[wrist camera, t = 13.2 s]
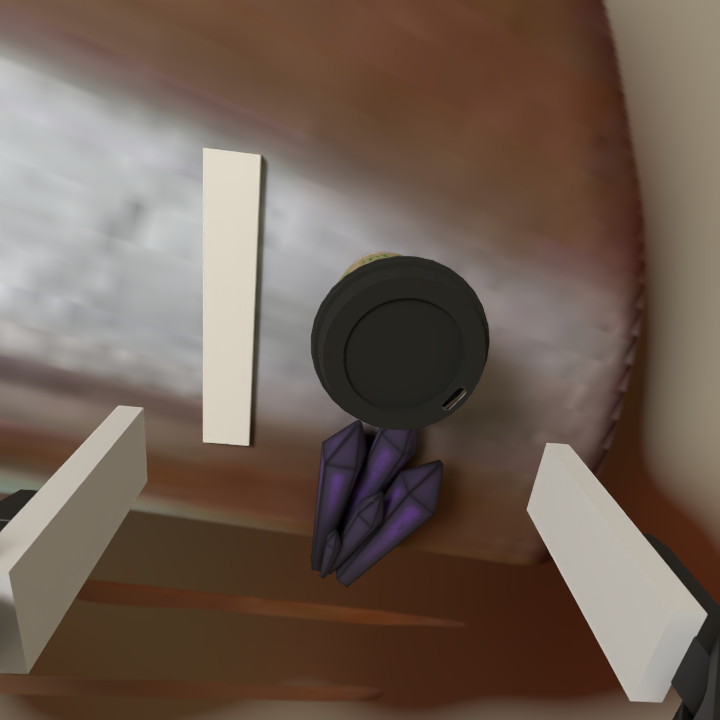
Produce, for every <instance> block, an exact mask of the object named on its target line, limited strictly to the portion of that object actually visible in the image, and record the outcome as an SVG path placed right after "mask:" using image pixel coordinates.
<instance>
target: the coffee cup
mask: <svg viewBox="0 0 720 720" xmlns="http://www.w3.org/2000/svg"><path fill="white" fill-rule="evenodd" d="M488 349H489V328H488V323H487V319H486V316H485V312H484V309H483V306H482V304H481V302H480V300H479V299H478V297H477V295H476V293H475V291H474V290H473V289H472V288H471V287H470V286H469V284H468V283H467V282H466V281H465V280H464V279H463V278H462V277H461V276H459V275H458V274H457V273H455V272H454V271H453V270H451V269H450V268H448V267H446V266H444V265H442V264H440V263H437V262H435V261H433V260H429V259H424V258H420V257H416V256H403V255H399V254H394V253H387V252H375V253H370V254H367V255H365V256H362V257H361V258H359V259H358V260H356V261H355V262H354V263H353V264H352V265H351V266H350V267H349V268H348V269H347V270H346V272H345V273H344V274H343V276H342V277H341V279H340V281H339V282H338V283H337V284H336V285H335V286H334V287H333V288H332V289H331V290H330V292H329V293H328V295H327V296H326V297H325V299H324V300H323V302H322V303H321V305H320V308H319V310H318V312H317V315H316V317H315V319H314V324H313V329H312V334H311V355H312V359H313V364H314V368H315V371H316V373H317V375H318V378H319V380H320V382H321V384H322V386H323V388H324V389H325V391H326V392H327V393H328V395H329V396H330V397H331V399H332V400H333V401H334V402H335V403H337V404H338V405H339V406H340V407H341V408H342V409H343V410H344V411H346V412H347V413H349V414H351V415H352V416H354V417H356V418H357V419H360V420H361V421H363V422H365V423H368V424H370V425H373V426H376V427H379V428H385V429H390V430H410V429H416V428H421V427H425V426H428V425H430V424H433V423H436V422H438V421H440V420H442V419H443V418H445V417H447V416H449V415H450V414H452V413H453V412H454V411H455V410H457V409H458V408H459V407H460V406H461V405H462V404H463V403H464V402H465V401H466V400H467V399H468V397H469V396H470V395H471V394H472V392H473V390H474V389H475V387H476V385H477V384H478V382H479V380H480V377H481V375H482V372H483V369H484V366H485V364H486V361H487V356H488ZM464 388H465V391H466V392H465V393H464V394H463V395H462V397H460V398H459V399H458V400H457V401H455V402H454V403H453V404H452V405H451V406H449V407H448V408H446V409H443V407H444V406H446V405H448V404H449V403H450V402H451V401H452V400H454V399H455V398H456V397H457V396H458V395H459V394H460V393H461V392H462V391H463V390H464Z"/></svg>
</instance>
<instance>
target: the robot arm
mask: <svg viewBox="0 0 720 720" xmlns="http://www.w3.org/2000/svg"><path fill="white" fill-rule="evenodd" d="M146 482H147V464H146V444H145V424H144V408H141V407H129V406H118V407H117V408H116V409H115V410H114V411H113V412H112V413H111V414H110V415H109V416H108V417H107V418H106V419H105V421H104V422H103V423H102V424H101V425H100V426H99V427H98V428H97V429H96V430H95V431H94V432H93V433H92V434H91V436H90V437H89V438H88V439H87V440H86V441H85V442H84V443H83V444H82V445H81V446H80V447H79V448H78V449H77V450H76V452H75V453H74V454H73V455H72V456H71V457H70V458H69V459H68V460H67V461H66V462H65V463H64V464H63V465H62V467H61V468H60V469H59V470H58V471H57V472H56V473H55V474H54V475H53V476H52V477H51V478H50V479H49V480H48V482H47V483H46V484H45V485H44V486H43V487H42V488H41V489H40V490H39V491H35V490H19V491H17V492H16V493H14V494H12V495H11V496H9V497H7V498H5V499H4V500H2V501H0V673H13V674H28V673H29V672H30V669H31V668H32V667H33V665H34V663H35V662H36V660H37V659H38V657H39V655H40V654H41V652H42V651H43V649H44V647H45V646H46V644H47V643H48V641H49V639H50V638H51V636H52V634H53V633H54V631H55V630H56V628H57V626H58V625H59V623H60V621H61V620H62V618H63V617H64V615H65V613H66V612H67V610H68V609H69V607H70V605H71V604H72V602H73V600H74V599H75V597H76V596H77V594H78V592H79V591H80V589H81V588H82V586H83V584H84V583H85V581H86V579H87V578H88V576H89V575H90V573H91V571H92V569H93V568H94V566H95V565H96V563H97V562H98V560H99V558H100V557H101V555H102V554H103V552H104V550H105V549H106V547H107V545H108V544H109V542H110V541H111V539H112V537H113V536H114V534H115V532H116V531H117V529H118V528H119V526H120V524H121V523H122V521H123V520H124V518H125V516H126V515H127V513H128V511H129V510H130V508H131V507H132V505H133V503H134V502H135V500H136V499H137V497H138V495H139V494H140V492H141V490H142V489H143V487H144V486H145V484H146ZM527 511H528V513H529V515H530V517H531V519H532V520H533V522H534V524H535V526H536V528H537V530H538V532H539V533H540V535H541V537H542V539H543V541H544V543H545V544H546V546H547V548H548V550H549V552H550V554H551V556H552V557H553V559H554V561H555V563H556V565H557V567H558V569H559V570H560V572H561V574H562V576H563V578H564V579H565V581H566V583H567V585H568V587H569V589H570V591H571V593H572V594H573V596H574V598H575V600H576V602H577V604H578V605H579V607H580V609H581V611H582V613H583V615H584V617H585V618H586V620H587V622H588V624H589V626H590V628H591V629H592V631H593V633H594V635H595V637H596V639H597V641H598V642H599V644H600V646H601V648H602V649H603V652H604V653H605V655H606V657H607V659H608V661H609V663H610V665H611V666H612V668H613V670H614V672H615V674H616V676H617V677H618V679H619V681H620V683H621V685H622V686H623V688H624V690H625V692H626V694H627V696H628V698H629V700H630V701H639V702H640V701H641V702H663V700H664V698H665V696H666V694H667V692H668V690H669V688H670V686H671V684H672V685H673V686H674V688H675V689H676V691H677V693H678V694H679V696H680V697H681V699H682V700H683V701H682V703H681V705H680V707H679V709H678V711H677V712H676V714H675V716H674V718H673V720H720V606H719V605H718V604H717V603H716V602H715V601H714V599H713V598H712V597H711V596H710V595H709V594H708V592H707V591H706V590H705V589H704V588H703V587H702V586H701V585H700V583H699V582H698V581H697V580H694V576H693V575H692V574H691V573H690V572H689V570H688V569H687V568H686V567H683V564H682V562H681V561H680V560H679V559H678V558H677V556H676V555H675V554H674V553H673V552H672V551H671V550H670V548H668V547H667V546H666V545H665V544H663V543H662V542H661V541H659V540H658V539H656V538H655V537H654V536H653V535H651V534H642V533H641V532H640V531H639V530H638V529H637V527H636V526H635V525H634V524H633V523H632V521H631V520H630V519H629V518H628V516H627V515H626V514H625V513H624V512H623V510H622V509H621V508H620V507H619V506H618V504H617V503H616V502H615V501H614V500H613V498H612V497H611V496H610V494H609V493H608V492H607V491H606V490H605V488H604V487H603V486H602V485H601V483H600V482H599V481H598V480H597V479H596V477H595V476H594V475H593V474H592V472H591V471H590V470H589V469H588V468H587V466H586V465H585V464H584V463H583V461H582V460H581V459H580V458H579V457H578V455H577V454H576V453H575V452H574V451H573V449H572V448H571V447H570V446H569V445H567V444H556V443H546V447H545V450H544V453H543V457H542V460H541V463H540V467H539V470H538V473H537V477H536V480H535V483H534V487H533V490H532V493H531V497H530V500H529V503H528V507H527Z"/></svg>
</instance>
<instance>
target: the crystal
mask: <svg viewBox="0 0 720 720" xmlns="http://www.w3.org/2000/svg"><path fill="white" fill-rule="evenodd" d="M417 432H418V428H416V429H410V430H390V429H385V428H379V430H378V432H377V435H376V437H375V439H374V441H373V443H372V445H371V447H370V449H369V452H368V449H367V444H366V439H365V434H364V430H363V425H362V422H361V421H360V420H357V421H355V422H353V423H352V424H350V425H349V426H347V427H345V428H344V429H342V430H341V431H339V432H338V433H336V434H335V435H333V436H331V437H330V438H328V439H327V440H325V441H324V442H322V451H321V461H320V471H319V482H318V492H317V503H316V513H315V523H314V534H313V544H312V555H311V567H312V570H316V571H320V577H322V578H323V579H324V578H325V577H326V576H327V574H332V573H333V572H334V571H335V570H336V577H337V580H338V581H339V582H341V583H342V584H343V585H344V586H346V587H348V586H349V585H351V584H352V583H353V582H354V581H355V580H357V579H358V578H359V577H360V576H361V575H363V574H364V573H365V572H366V571H367V570H369V569H370V568H371V567H372V566H373V565H374V564H376V563H377V562H378V561H379V560H380V559H381V558H383V557H384V556H385V555H386V554H388V553H389V552H390V551H391V550H392V549H394V548H395V547H396V546H397V545H398V544H400V543H401V542H402V541H403V540H404V539H406V538H407V537H408V536H409V535H410V534H412V533H413V532H414V531H415V530H416V529H418V528H419V527H420V526H421V525H422V524H423V523H425V522H426V521H427V520H428V519H429V518H431V517H432V516H433V515H434V513H435V509H436V506H437V503H438V496H439V490H440V484H441V478H442V471H443V463H442V462H441V461H440V460H437V461H433V462H430V463H427V464H423V465H420V466H417V467H413V468H410V469H407V470H404V471H402V470H403V469H404V467H405V466H406V465H407V463H408V462H409V461H410V459H411V458H412V457H413V455H414V454H415V452H416V445H417ZM367 452H368V454H367ZM366 455H367V456H366Z"/></svg>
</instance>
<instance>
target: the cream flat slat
mask: <svg viewBox="0 0 720 720" xmlns="http://www.w3.org/2000/svg"><path fill="white" fill-rule="evenodd" d="M261 161H262V155H255V154H248V153H240V152H232V151H224V150H216V149H209V148H203V442H209V443H221V444H233V445H245V446H249V443H250V428H251V404H252V379H253V355H254V331H255V307H256V282H257V258H258V234H259V210H260V185H261Z"/></svg>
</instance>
